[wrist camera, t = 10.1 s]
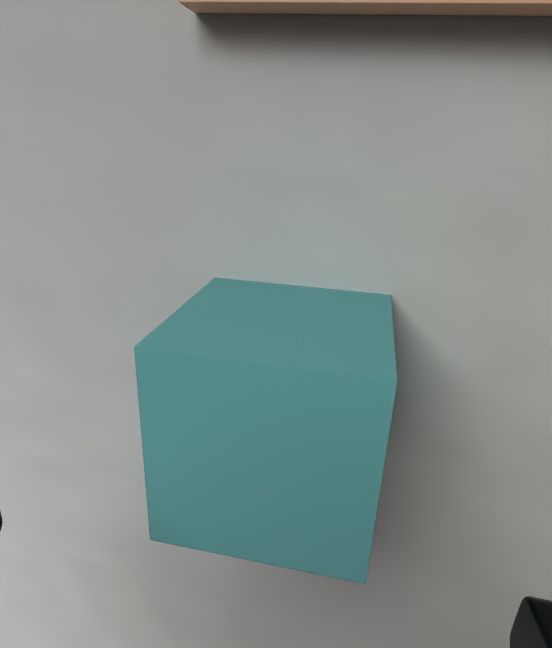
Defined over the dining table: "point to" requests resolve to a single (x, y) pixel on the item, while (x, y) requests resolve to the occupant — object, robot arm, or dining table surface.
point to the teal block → (269, 423)
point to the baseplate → (375, 7)
